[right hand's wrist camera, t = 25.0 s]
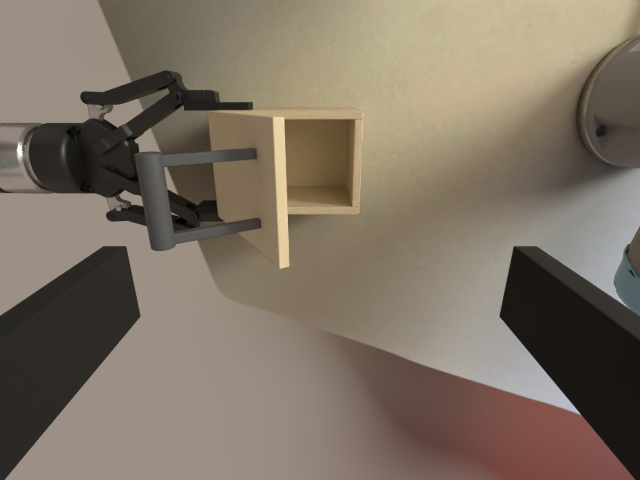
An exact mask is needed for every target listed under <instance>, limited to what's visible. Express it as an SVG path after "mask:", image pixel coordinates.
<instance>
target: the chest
mask: <svg viewBox="0 0 640 480" xmlns="http://www.w3.org/2000/svg"><path fill="white" fill-rule="evenodd" d="M218 111H221V112H233V113H245V114H257V115H270V116H282V117H284V127H285V156H286V185H287V214H359V206H360V182H361V156H362V131H363V120H362V119H363V111H361V110H358V109H354V108H253V110H218Z"/></svg>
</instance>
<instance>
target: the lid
mask: <svg viewBox="0 0 640 480" xmlns="http://www.w3.org/2000/svg"><path fill="white" fill-rule="evenodd" d="M207 114H208V123H209V132H210V142H211V151H200V152H185V153H171V154H162V153H161V152H140V153H136V154H135V155H134V157H135V162H136V168H137V173H138V179H139V184H140V190H141V195H142V201H143V206H144V212H145V217H146V223H147V228H148V234H149V239H150V245H151V249H152V250H155V251H164V250H169V249H171V248H173V247H175V245H176V244H178V243H184V242H189V241H195V240H200V239H206V238H211V237H217V236H222V235H227V234H233V233H238V234H240V235H241V236H242V237H243V238H244V239H245V240H247V241H248V242H249V243H250V244H251V245H252V246H253V247H255V248H256V249H257V250H258V251H259V252H260V253H262V254H263V255H264V256H265V257H266V258H267V259H269V260H270V261H271V262H272V263H273V264H274V265H275V266H277V267H278V268H279V269H282V268H286V267H289V243H288V214H287V185H286V156H285V127H284V117H282V116H270V115H257V114H245V113H233V112H221V111H207ZM205 163H213V170H214V180H215V189H216V199H217V208H218V216H219V217H220V218H221V219H222V220H223V221H225V222H226V223H222V224H216V225H210V226H204V227H198V228H192V229H186V230H180V231H174V230H173V223H172V217H171V210H170V204H169V197H168V191H167V184H166V178H165V171H164V167H169V166H181V165H193V164H205Z"/></svg>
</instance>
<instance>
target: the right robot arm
mask: <svg viewBox="0 0 640 480" xmlns="http://www.w3.org/2000/svg"><path fill="white" fill-rule="evenodd" d="M577 122H578V130H579V134H580V137H581V140H582V142H583V144H584V145H585V147H586V149H587V150H588V151H589V152H590V153H591V154H592V155H593V156H594V157H596V158H597V159H599V160H601V161H602V162H605V163H607V164H611V165H615V166H620V167H626V168H640V35H637V36H635V37H633V38H631V39H629V40H627V41H625V42H624V43H622V44H621V45H619V46H618V47H616V48H615V49H614V50H613V51H611V52H610V53H609V54H608V55H607V56H606V57H605V58H604V59H603V60H602V61H601V62H600V63H599V65H598V66H597V67H596V68H595V70H594V71H593V73H592V74H591V76H590V78H589V79H588V81H587V83H586V85H585V87H584V89H583V92H582V95H581V98H580V102H579V107H578V115H577ZM614 285H615V288H616V292H617V294H618V296H619V297H620V299H621V300H622V301H623V302H624V303H625V305H626V306H627V307H628V308H627V307H626V306H624V305H623V304H621V303H620V302H618V301H617V300H615V299H614V298H612V297H611V296H609V295H608V294H606V293H605V292H604V291H602V290H601V289H599V288H598V287H596V286H595V285H593V284H592V283H590V282H589V281H587V280H586V279H584V278H583V277H581V276H580V275H578V274H577V273H575V272H574V271H572V270H571V269H569V268H568V267H566V266H565V265H563V264H562V263H560V262H559V261H557V260H556V259H554V258H553V257H551V256H550V255H549V254H547V253H546V252H544V251H543V250H541V249H540V248H538V247H537V246H514V248H513V253H512V258H511V263H510V268H509V273H508V277H507V282H506V287H505V292H504V297H503V302H502V307H501V312H500V318H501V319H502V320H503V321H504V322H505V324H506V325H507V326H508V327H509V328H510V330H511V331H512V332H513V333H514V334H515V336H516V337H517V338H518V339H519V340H520V342H521V343H522V344H523V345H524V346H525V348H526V349H527V350H528V351H529V352H530V354H531V355H532V356H533V357H534V358H535V360H536V361H537V362H538V363H539V364H540V366H541V367H542V368H543V369H544V370H545V372H546V373H547V374H548V375H549V376H550V378H551V379H552V380H553V381H554V382H555V384H556V385H557V386H558V387H559V388H560V390H561V391H562V392H563V393H564V394H565V396H566V397H567V398H568V399H569V400H570V402H571V403H572V404H573V405H574V406H575V408H576V409H577V410H578V411H579V412H580V414H581V415H582V416H583V417H584V418H585V420H586V421H587V422H588V423H589V424H590V426H591V427H592V428H593V429H594V430H595V432H596V433H597V434H598V435H599V436H600V438H601V439H602V440H603V441H604V442H605V444H606V445H607V446H608V447H609V448H610V450H611V451H612V452H613V453H614V454H615V456H616V457H617V458H618V459H619V460H620V462H621V463H622V464H623V465H624V466H625V468H626V469H627V470H628V471H629V473H630V474H631V475H632V476H633V477H634V478H635V480H640V227H639V229H638V231H637V233H636V234H635V236H634V238H633V240H632V242H631V243H630V244H628V245H627V246H626V248H625V250H624V255H623V259H622V262H621V264H620V266H619V268H618V270H617V272H616V274H615V277H614ZM629 308H630V309H631V310H630V309H629ZM139 318H140V312H139V307H138V302H137V297H136V292H135V287H134V282H133V277H132V273H131V268H130V263H129V258H128V253H127V248H126V246H104V247H102V248H100V249H99V250H98V251H96V252H94V253H93V254H91V255H90V256H89V257H87V258H86V259H84V260H83V261H81V262H80V263H78V264H77V265H75V266H74V267H72V268H71V269H69V270H68V271H66V272H65V273H63V274H62V275H60V276H59V277H57V278H56V279H54V280H53V281H51V282H50V283H48V284H47V285H45V286H44V287H42V288H41V289H39V290H38V291H36V292H35V293H34V294H32V295H31V296H29V297H28V298H26V299H25V300H23V301H22V302H20V303H19V304H17V305H16V306H14V307H13V308H11V309H10V310H8V311H7V312H5V313H4V314H2V315H1V316H0V480H5V479H6V477H7V476H8V475H9V474H10V472H11V471H12V470H13V469H14V468H15V466H16V465H17V464H18V463H19V462H20V460H21V459H22V458H23V457H24V456H25V454H26V453H27V452H28V451H29V450H30V448H31V447H32V446H33V445H34V444H35V442H36V441H37V440H38V439H39V438H40V436H41V435H42V434H43V433H44V432H45V430H46V429H47V428H48V427H49V426H50V424H51V423H52V422H53V421H54V420H55V418H56V417H57V416H58V415H59V414H60V412H61V411H62V410H63V409H64V408H65V406H66V405H67V404H68V403H69V402H70V400H71V399H72V398H73V397H74V396H75V394H76V393H77V392H78V391H79V390H80V388H81V387H82V386H83V385H84V384H85V382H86V381H87V380H88V379H89V378H90V376H91V375H92V374H93V373H94V372H95V370H96V369H97V368H98V367H99V366H100V364H101V363H102V362H103V361H104V360H105V358H106V357H107V356H108V355H109V354H110V352H111V351H112V350H113V349H114V348H115V346H116V345H117V344H118V343H119V341H120V340H121V339H122V338H123V337H124V336H125V334H126V333H127V332H128V331H129V330H130V328H131V327H132V326H133V325H134V324H135V322H136V321H137V320H138V319H139Z"/></svg>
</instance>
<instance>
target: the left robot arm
mask: <svg viewBox="0 0 640 480" xmlns="http://www.w3.org/2000/svg"><path fill="white" fill-rule="evenodd" d="M167 88H168V89H169V91H170V93H169V94H168V95H166V96H165V97H163V98H162V99H160V100H159V101H158V102H156V103H155V104H153V105H152V106H150V107H149V108H148V109H146V110H145V111H143V112H142V113H140V114H139V115H138V116H136V117H135V118H133V119H132V120H130V121H129V122H127V123H126V124H124V125H122V126H120V127H118V128H117V127H116V126H114V125H113V124H111V123H110V122H108V121H107V120H105V119H104V115H105V114H106V113H109V112H111V111H112V108H113V105H118V104H123V103H126V102H129V101H132V100H135V99H138V98H141V97H144V96H146V95H149V94H152V93H155V92H158V91H161V90H164V89H167ZM80 98H81V100H82V102H83V103H85V104H87V105H88V111H89V117H90V119H89V120H87V121H86V122H84V123H46V124H41V123H0V193H96V194H99V195H102V196H104V197H106V198H107V201H108V205H109V209H110V211H109V212H107V214H106V217H107V219H108V220H109V221H113V222H114V221H130V222H134V223H137V224H141V225H145V226H147V223H146V217H145V212H144V207H143V206H138V205H131V202H129V201H127V200H123V199H121V198H120V196H119V194H120V193H122V192H123V191H124V190H126V191H128V192H130V193H132V194H135V195H140V196H142V195H141V190H140V184H139V179H138V173H137V168H136V162H135V157H134V155H135V154H136V153H139V147H138V143H135V141H134V140H135V139H136V138H138V137H139V136H141V135H142V134H143V133H144V132H145V131H146V130H148V129H149V128H151V127H152V126H154V125H155V124H157V123H158V122H160V121H161V120H163V119H164V118H166V117H167V116H168V115H170V114H171V113H173V112H174V111H176V110H177V109H179V108H180V107H182V106H183V105H184V110H253V102H220V100H219V93H218V92H216V91H213V90H188V89H186V88H185V86H184V84H183V82H182V77H181V75H180V74H179V73H177V72H172V71H162V72H160V73H157V74H154V75H151V76H148V77H145V78H142V79H139V80H137V81H134V82H131V83H128V84H125V85H122V86H119V87H117V88H114V89H111V90H108V91H105V92H86V91H85V92H82V93H81V95H80ZM167 191H168V197H169V204H170V210H171V212H172V213H174V214H176V215H178V216H175V215H172V214H171V217H172V223H173V230H174V231H180V230H186V229H192V228H198V227H200V222H201V221H223V220H222V219H221V218H220V217H219V216H218V208H217V200H204V201H202V202H201V203H200V204H199V205H196V204H194V203H192V202H190V201H188V200H186V199H185V198H183V197H181V196H179V195H177V194H175V193H173V192H171V191H170V190H168V189H167ZM179 216H180V217H179Z"/></svg>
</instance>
